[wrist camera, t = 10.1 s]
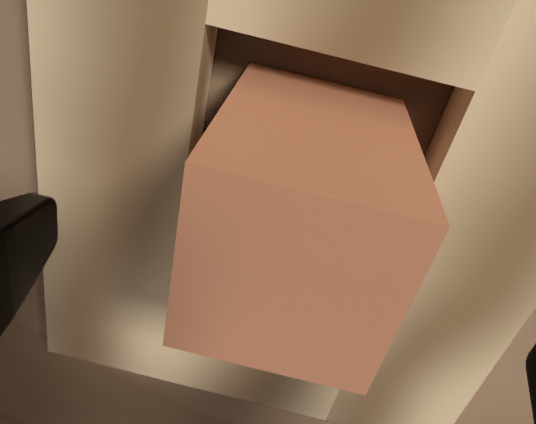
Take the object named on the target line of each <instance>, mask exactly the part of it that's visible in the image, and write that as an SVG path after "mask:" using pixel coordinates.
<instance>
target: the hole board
mask: <svg viewBox="0 0 536 424" xmlns="http://www.w3.org/2000/svg"><path fill="white" fill-rule="evenodd" d="M27 16H28V33H29V49H30V66H31V82H32V98H33V115H34V131H35V148H36V164H37V180H38V194H41V195H45V196H49V197H52V198H53V199H54V200H55V201H56V204H57V220H58V239H57V243H56V246H55V248H54V250H53V252H52V254H51V255H50V257H49V259H48V261H47V262H46V264H45V266H44V267H43V279H44V295H45V311H46V328H47V344H48V351H49V352H53V353H57V354H61V355H65V356H69V357H73V358H77V359H81V360H85V361H89V362H93V363H97V364H101V365H105V366H109V367H113V368H117V369H121V370H125V371H129V372H133V373H137V374H141V375H145V376H149V377H153V378H157V379H161V380H165V381H169V382H173V383H177V384H181V385H185V386H189V387H193V388H197V389H201V390H205V391H209V392H213V393H217V394H221V395H225V396H229V397H233V398H237V399H241V400H245V401H249V402H253V403H257V404H261V405H265V406H269V407H273V408H277V409H281V410H285V411H289V412H293V413H297V414H301V415H305V416H309V417H313V418H317V419H321V420H325V421H329V422H333V423H337V424H454V423H455V421H456V420H457V418H458V417H459V416H460V414H461V413H462V411H463V410H464V408H465V407H466V406H467V404H468V403H469V401H470V400H471V399H472V397H473V396H474V394H475V393H476V391H477V390H478V389H479V387H480V386H481V384H482V383H483V381H484V380H485V379H486V377H487V376H488V374H489V373H490V371H491V370H492V369H493V367H494V366H495V364H496V363H497V362H498V360H499V359H500V357H501V356H502V354H503V353H504V352H505V350H506V349H507V347H508V346H509V344H510V343H511V342H512V340H513V339H514V337H515V336H516V334H517V333H518V332H519V330H520V329H521V327H522V326H523V325H524V323H525V322H526V320H527V319H528V317H529V316H530V315H531V313H532V312H533V310H534V309H535V307H536V0H27ZM218 27H219V28H223V29H227V30H231V31H235V32H239V33H243V34H247V35H251V36H255V37H259V38H263V39H267V40H271V41H275V42H279V43H283V44H287V45H291V46H295V47H299V48H303V49H307V50H311V51H315V52H319V53H323V54H327V55H331V56H335V57H339V58H343V59H347V60H351V61H355V62H359V63H363V64H367V65H371V66H375V67H379V68H383V69H387V70H392V71H396V72H400V73H404V74H408V75H412V76H416V77H420V78H424V79H428V80H432V81H436V82H440V83H444V84H448V85H452V86H455V87H454V89H453V91H452V94H451V96H450V98H449V101H448V103H447V105H446V108H445V110H444V112H443V115H442V117H441V119H440V122H439V124H438V126H437V129H436V131H435V133H434V136H433V138H432V140H431V143H430V145H429V147H428V150H427V152H426V154H425V160H426V163H427V165H428V168H429V171H430V174H431V176H432V179H433V182H434V184H435V187H436V190H437V192H438V195H439V198H440V200H441V203H442V206H443V209H444V211H445V214H446V217H447V219H448V222H449V225H450V228H449V230H448V232H447V234H446V236H445V238H444V240H443V242H442V244H441V246H440V248H439V250H438V252H437V254H436V256H435V258H434V260H433V262H432V264H431V266H430V268H429V270H428V272H427V274H426V276H425V278H424V280H423V282H422V284H421V286H420V288H419V290H418V292H417V294H416V296H415V298H414V300H413V302H412V304H411V306H410V308H409V310H408V312H407V314H406V316H405V318H404V320H403V322H402V324H401V326H400V328H399V330H398V332H397V334H396V336H395V338H394V340H393V342H392V344H391V346H390V348H389V350H388V352H387V354H386V356H385V358H384V360H383V362H382V364H381V366H380V368H379V370H378V372H377V374H376V376H375V378H374V380H373V382H372V384H371V386H370V388H369V390H368V392H367V394H366V396H365V395H361V394H357V393H353V392H349V391H345V390H341V389H337V388H332V387H328V386H324V385H320V384H316V383H312V382H308V381H304V380H300V379H296V378H292V377H288V376H284V375H279V374H275V373H271V372H267V371H263V370H259V369H255V368H251V367H247V366H243V365H239V364H235V363H231V362H227V361H222V360H218V359H214V358H210V357H206V356H202V355H198V354H194V353H190V352H186V351H182V350H178V349H174V348H169V347H165V346H163V339H164V330H165V322H166V314H167V306H168V298H169V290H170V281H171V273H172V265H173V257H174V249H175V240H176V232H177V224H178V216H179V208H180V200H181V191H182V183H183V175H184V167H185V161H186V160H187V158H188V157H189V155H190V154H191V152H192V150H193V149H194V147H195V146H196V144H197V143H198V141H199V140H200V138H201V137H202V135H203V128H204V121H205V114H206V107H207V101H208V94H209V87H210V80H211V73H212V66H213V59H214V52H215V45H216V38H217V32H218Z"/></svg>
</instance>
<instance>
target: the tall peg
mask: <svg viewBox="0 0 536 424" xmlns="http://www.w3.org/2000/svg"><path fill="white" fill-rule="evenodd" d="M449 228H450V225H449V222H448V219H447V217H446V214H445V211H444V209H443V206H442V203H441V200H440V198H439V195H438V192H437V190H436V187H435V184H434V182H433V179H432V176H431V174H430V171H429V168H428V165H427V163H426V160H425V157H424V155H423V152H422V149H421V147H420V144H419V141H418V139H417V136H416V133H415V131H414V128H413V125H412V122H411V120H410V117H409V114H408V112H407V109H406V106H405V104H404V101H403V100H402V99H398V98H394V97H390V96H386V95H382V94H378V93H374V92H369V91H365V90H361V89H357V88H353V87H349V86H345V85H341V84H337V83H333V82H329V81H324V80H320V79H316V78H312V77H308V76H304V75H300V74H296V73H292V72H288V71H284V70H279V69H275V68H271V67H267V66H263V65H259V64H255V63H251V62H250V63H249V65H248V66H247V68H246V70H245V71H244V73H243V74H242V76H241V77H240V79H239V80H238V82H237V83H236V85H235V86H234V88H233V89H232V91H231V92H230V94H229V95H228V97H227V99H226V100H225V102H224V103H223V105H222V106H221V108H220V109H219V111H218V112H217V114H216V115H215V117H214V118H213V120H212V121H211V123H210V125H209V126H208V128H207V129H206V131H205V132H204V134H203V135H202V137H201V138H200V140H199V141H198V143H197V144H196V146H195V147H194V149H193V150H192V152H191V154H190V155H189V157H188V158H187V160H186V161H185V167H184V175H183V183H182V191H181V200H180V208H179V216H178V224H177V232H176V240H175V249H174V257H173V265H172V273H171V281H170V290H169V298H168V306H167V314H166V322H165V330H164V339H163V346H165V347H169V348H174V349H178V350H182V351H186V352H190V353H194V354H198V355H202V356H206V357H210V358H214V359H218V360H222V361H227V362H231V363H235V364H239V365H243V366H247V367H251V368H255V369H259V370H263V371H267V372H271V373H275V374H279V375H284V376H288V377H292V378H296V379H300V380H304V381H308V382H312V383H316V384H320V385H324V386H328V387H332V388H337V389H341V390H345V391H349V392H353V393H357V394H361V395H365V396H366V394H367V392H368V390H369V388H370V386H371V384H372V382H373V380H374V378H375V376H376V374H377V372H378V370H379V368H380V366H381V364H382V362H383V360H384V358H385V356H386V354H387V352H388V350H389V348H390V346H391V344H392V342H393V340H394V338H395V336H396V334H397V332H398V330H399V328H400V326H401V324H402V322H403V320H404V318H405V316H406V314H407V312H408V310H409V308H410V306H411V304H412V302H413V300H414V298H415V296H416V294H417V292H418V290H419V288H420V286H421V284H422V282H423V280H424V278H425V276H426V274H427V272H428V270H429V268H430V266H431V264H432V262H433V260H434V258H435V256H436V254H437V252H438V250H439V248H440V246H441V244H442V242H443V240H444V238H445V236H446V234H447V232H448V230H449Z"/></svg>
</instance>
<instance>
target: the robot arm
mask: <svg viewBox="0 0 536 424" xmlns="http://www.w3.org/2000/svg"><path fill="white" fill-rule="evenodd" d="M57 239H58V220H57V204H56V201H55V200H54V199H53V198H52V197H49V196H45V195H41V194H37V193H27V194H24V195H20V196H17V197H13V198H10V199H6V200H3V201H0V336H1V335H2V333H3V332H4V331H5V329H6V328H7V326H8V325H9V324H10V322H11V321H12V319H13V318H14V316H15V315H16V313H17V312H18V310H19V308H20V307H21V305H22V303H23V302H24V300H25V298H26V297H27V295H28V293H29V291H30V290H31V288H32V286H33V285H34V283H35V281H36V279H37V278H38V276H39V274H40V273H41V271H42V269H43V267H44V266H45V264H46V262H47V261H48V259H49V257H50V255H51V254H52V252H53V250H54V248H55V246H56V243H57ZM526 373H527V379H528V386H529V392H530V399H531V406H532V412H533V419H534V424H536V344H535V345H534V347H533V348H532V349H531V351H530V352H529V354H528V356H527V359H526Z"/></svg>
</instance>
